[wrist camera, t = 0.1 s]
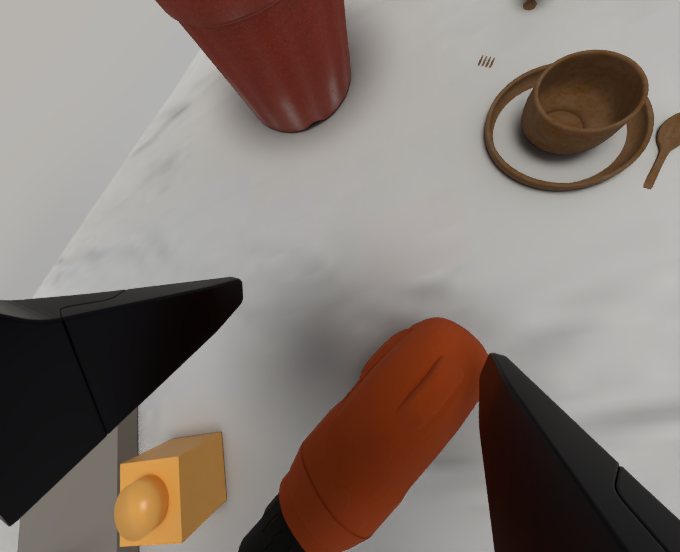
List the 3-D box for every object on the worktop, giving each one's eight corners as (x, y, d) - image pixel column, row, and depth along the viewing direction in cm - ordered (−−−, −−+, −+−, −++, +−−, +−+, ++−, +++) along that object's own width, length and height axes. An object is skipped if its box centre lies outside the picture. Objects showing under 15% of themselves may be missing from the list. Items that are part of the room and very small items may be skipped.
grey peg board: (139, 613, 23) (53, 706, 18) (39, 614, 26) (-65, 696, 20) (137, 361, 29) (70, 369, 23) (54, 379, 31) (-26, 391, 25)
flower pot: (343, 6, 32) (287, -300, 16) (394, 107, 27) (384, -176, 12) (227, 71, 34) (82, -139, 19) (257, 174, 30) (101, 10, 14)
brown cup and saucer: (429, 163, 26) (436, 117, 20) (512, -3, 27) (541, -89, 22) (641, 228, 21) (730, 190, 15) (731, 20, 22) (843, -85, 16)
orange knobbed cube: (226, 499, 24) (167, 557, 18) (174, 504, 25) (102, 560, 19) (221, 431, 25) (164, 464, 19) (172, 438, 26) (103, 471, 20)
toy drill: (257, 482, 22) (29, 722, 8) (407, 317, 24) (448, 264, 10) (295, 537, 20) (101, 963, 6) (452, 357, 22) (577, 362, 8)
